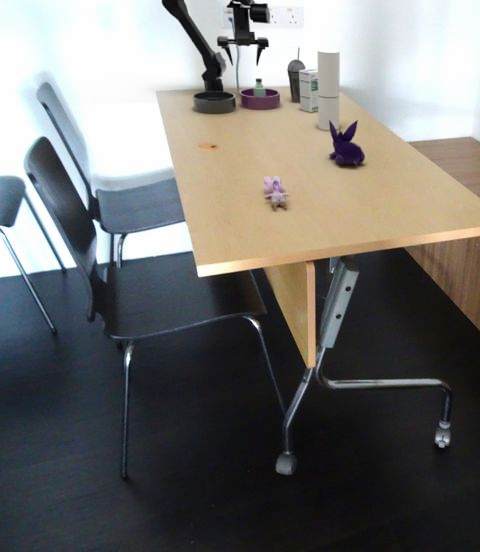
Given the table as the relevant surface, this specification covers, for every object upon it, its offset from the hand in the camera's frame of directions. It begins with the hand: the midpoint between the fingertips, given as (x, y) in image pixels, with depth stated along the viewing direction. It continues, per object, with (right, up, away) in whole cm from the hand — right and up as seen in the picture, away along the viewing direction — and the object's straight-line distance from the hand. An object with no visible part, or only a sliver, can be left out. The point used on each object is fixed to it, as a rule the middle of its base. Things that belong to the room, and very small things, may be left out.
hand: (244, 65), depth 219 cm
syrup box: (+26, -18, -4) cm, 32 cm away
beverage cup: (+19, -12, +6) cm, 24 cm away
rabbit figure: (+29, -62, -78) cm, 103 cm away
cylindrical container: (+35, -30, -22) cm, 51 cm away
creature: (+44, -47, -51) cm, 82 cm away
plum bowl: (+7, -17, -5) cm, 19 cm away
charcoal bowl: (-7, -21, -13) cm, 26 cm away
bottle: (+7, -17, -5) cm, 19 cm away
